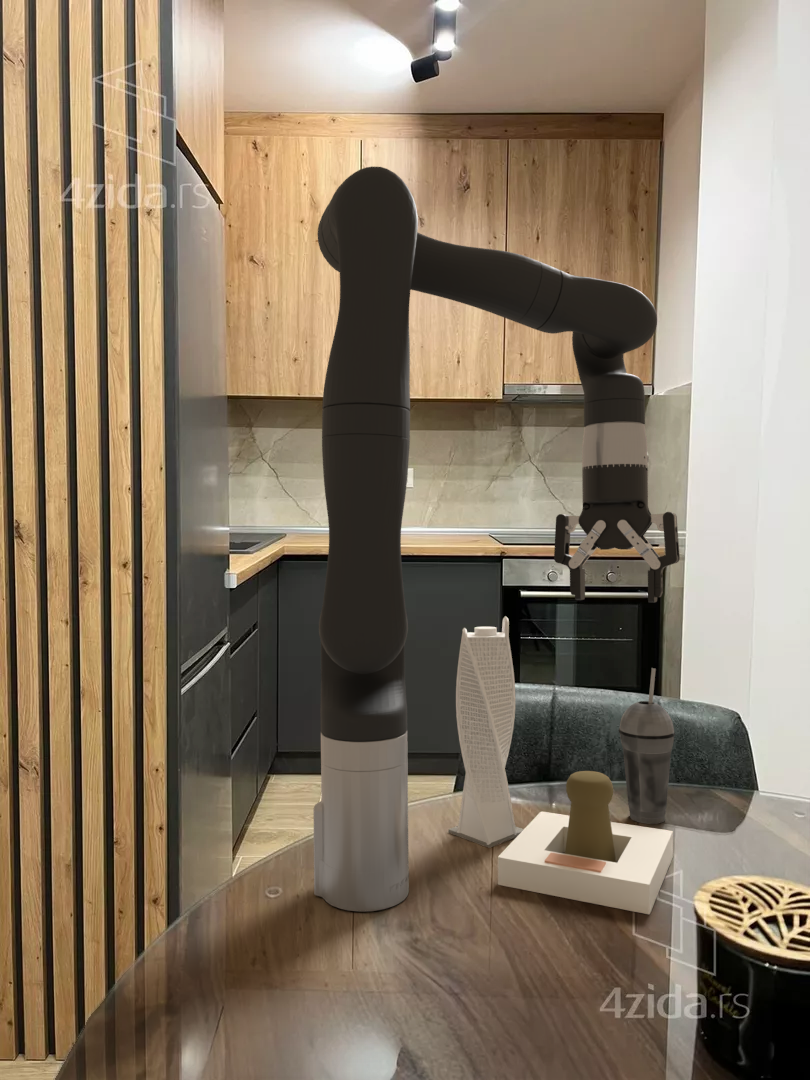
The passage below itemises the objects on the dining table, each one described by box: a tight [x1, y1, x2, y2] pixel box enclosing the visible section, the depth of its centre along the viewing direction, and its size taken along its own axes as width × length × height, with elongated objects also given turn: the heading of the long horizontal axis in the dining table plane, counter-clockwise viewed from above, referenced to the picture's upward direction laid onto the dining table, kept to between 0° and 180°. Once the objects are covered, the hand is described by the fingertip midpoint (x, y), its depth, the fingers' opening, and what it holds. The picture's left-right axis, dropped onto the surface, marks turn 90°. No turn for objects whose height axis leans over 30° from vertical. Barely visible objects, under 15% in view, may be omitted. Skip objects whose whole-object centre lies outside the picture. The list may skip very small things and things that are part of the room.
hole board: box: [497, 811, 674, 916], centre depth 90 cm, size 16×16×3 cm
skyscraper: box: [448, 615, 525, 849], centre depth 101 cm, size 8×8×28 cm
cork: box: [564, 770, 617, 863], centre depth 90 cm, size 6×6×11 cm
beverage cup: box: [618, 667, 676, 825], centre depth 107 cm, size 7×7×20 cm
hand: (615, 600), depth 94 cm, fingers open, 8 cm apart
